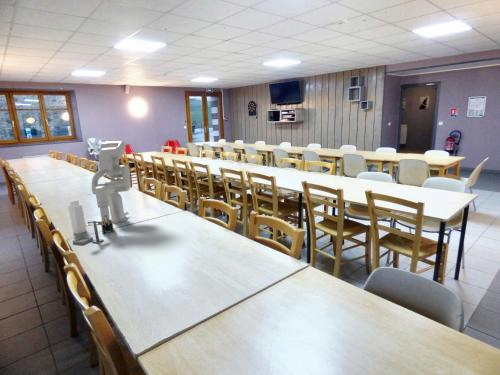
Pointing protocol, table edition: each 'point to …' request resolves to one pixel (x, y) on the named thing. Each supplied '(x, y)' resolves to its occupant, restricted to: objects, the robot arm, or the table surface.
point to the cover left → (109, 224)
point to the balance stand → (96, 235)
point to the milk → (77, 217)
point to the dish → (83, 240)
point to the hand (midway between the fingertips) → (107, 229)
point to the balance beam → (93, 223)
